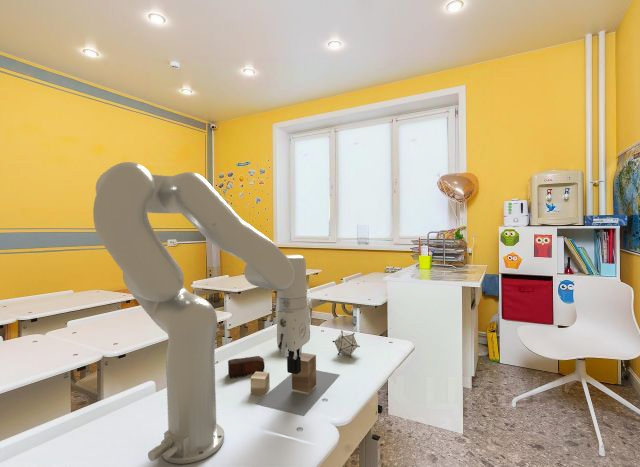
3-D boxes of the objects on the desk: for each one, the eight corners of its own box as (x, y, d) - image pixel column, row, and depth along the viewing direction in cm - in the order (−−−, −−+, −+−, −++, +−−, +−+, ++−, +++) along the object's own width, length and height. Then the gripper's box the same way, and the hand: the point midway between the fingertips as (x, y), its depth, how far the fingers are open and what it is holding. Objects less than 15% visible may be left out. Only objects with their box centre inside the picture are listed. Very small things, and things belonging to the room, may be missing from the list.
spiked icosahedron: (351, 364, 121) (368, 342, 120) (340, 364, 114) (358, 340, 114) (335, 346, 126) (351, 325, 126) (323, 345, 120) (340, 322, 119)
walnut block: (308, 394, 92) (307, 361, 92) (292, 391, 94) (291, 358, 94) (316, 386, 97) (315, 354, 96) (300, 383, 99) (300, 352, 99)
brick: (229, 379, 103) (229, 364, 103) (228, 374, 107) (227, 359, 107) (264, 373, 107) (264, 358, 107) (262, 368, 111) (261, 354, 110)
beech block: (265, 397, 92) (264, 378, 92) (250, 396, 93) (250, 377, 93) (269, 390, 96) (269, 372, 96) (256, 389, 97) (255, 371, 97)
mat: (303, 417, 82) (303, 415, 82) (255, 405, 88) (255, 403, 88) (340, 375, 104) (340, 374, 104) (299, 368, 110) (299, 367, 110)
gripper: (290, 311, 81) (292, 387, 82) (317, 297, 94) (319, 363, 95) (263, 308, 84) (266, 382, 85) (293, 295, 98) (295, 359, 98)
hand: (294, 372), depth 90 cm, fingers closed
